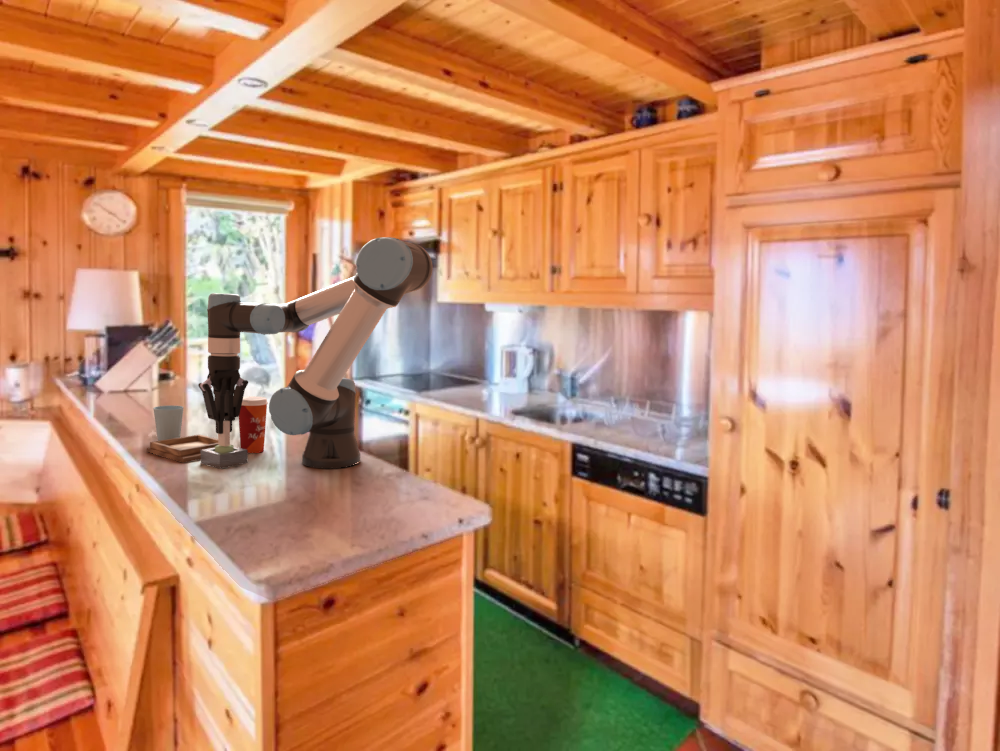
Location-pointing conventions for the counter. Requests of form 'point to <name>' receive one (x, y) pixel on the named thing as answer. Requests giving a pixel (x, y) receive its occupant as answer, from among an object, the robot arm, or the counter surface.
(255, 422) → the coffee cup
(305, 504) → the counter surface
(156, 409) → the cup
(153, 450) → the wooden tray
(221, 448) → the button
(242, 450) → the button housing
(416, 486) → the counter surface
